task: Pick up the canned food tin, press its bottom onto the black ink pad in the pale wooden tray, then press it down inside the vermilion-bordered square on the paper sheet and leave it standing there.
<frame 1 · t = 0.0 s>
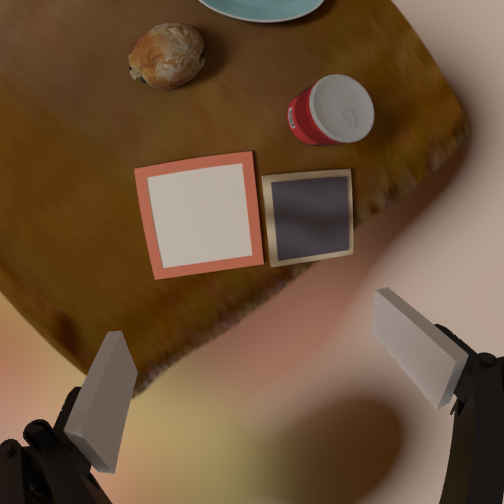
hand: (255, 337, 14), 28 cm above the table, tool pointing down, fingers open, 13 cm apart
canned food: (311, 119, 38), on the table
bread roll: (167, 60, 33), on the table
ink pad: (310, 216, 42), on the table
print sheet: (200, 216, 40), on the table
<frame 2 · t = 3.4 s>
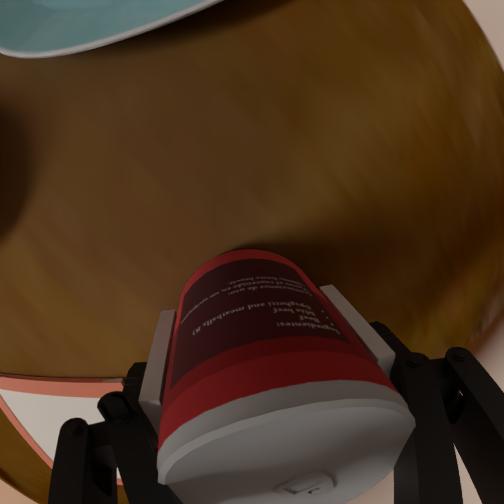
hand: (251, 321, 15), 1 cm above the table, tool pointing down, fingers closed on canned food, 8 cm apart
canned food: (247, 308, 17), on the table, touching gripper
print sheet: (79, 440, 19), on the table
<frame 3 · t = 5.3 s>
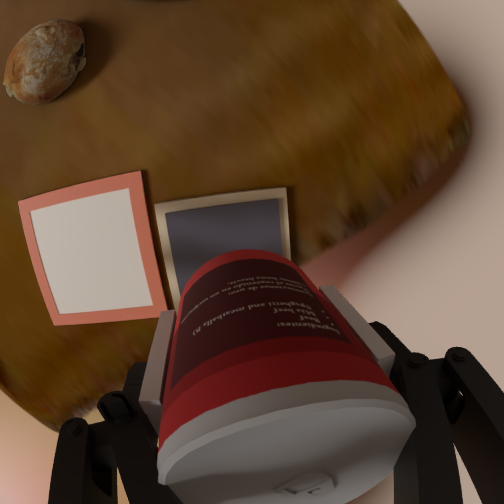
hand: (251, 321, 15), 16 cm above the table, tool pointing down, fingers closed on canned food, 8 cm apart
canned food: (247, 308, 17), point 15 cm above the table, touching gripper
bread roll: (50, 66, 21), on the table
ink pad: (227, 255, 31), on the table
print sheet: (87, 257, 29), on the table
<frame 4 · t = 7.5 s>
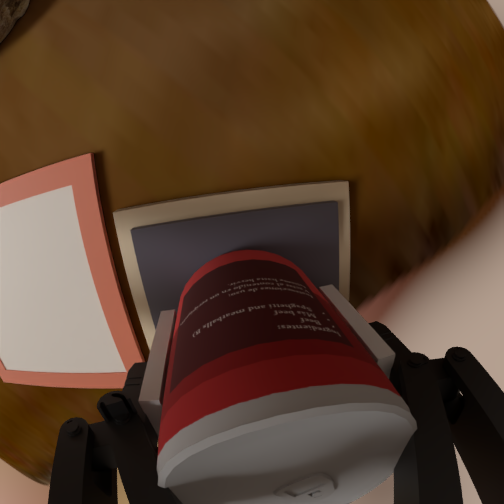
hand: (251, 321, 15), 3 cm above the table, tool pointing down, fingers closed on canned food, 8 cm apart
canned food: (247, 309, 17), point 1 cm above the table, touching gripper, ink pad
ink pad: (244, 297, 18), on the table
print sheet: (26, 296, 16), on the table
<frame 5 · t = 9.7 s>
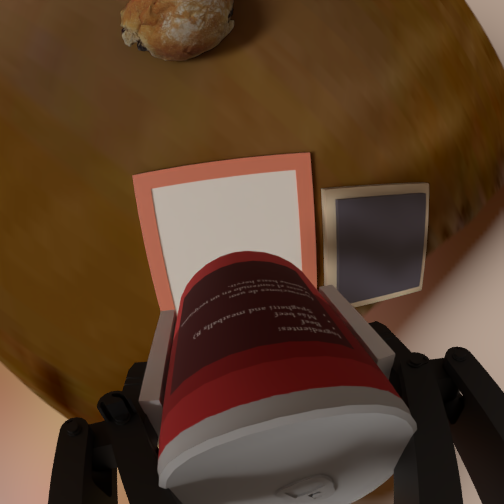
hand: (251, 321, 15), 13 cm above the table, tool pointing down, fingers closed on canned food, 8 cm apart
canned food: (248, 310, 17), point 12 cm above the table, touching gripper
bread roll: (178, 22, 20), on the table
ink pad: (378, 244, 30), on the table
print sheet: (231, 246, 27), on the table
when the fingers open (2 cm above the table, at t = 11.6 s): canned food stays where it is, resting on print sheet.
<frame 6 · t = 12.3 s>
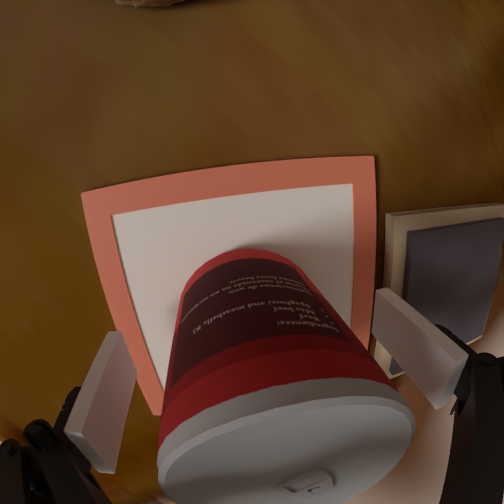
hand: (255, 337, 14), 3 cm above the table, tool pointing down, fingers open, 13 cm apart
canned food: (247, 308, 17), resting on print sheet
ink pad: (445, 288, 19), on the table
print sheet: (247, 306, 17), on the table
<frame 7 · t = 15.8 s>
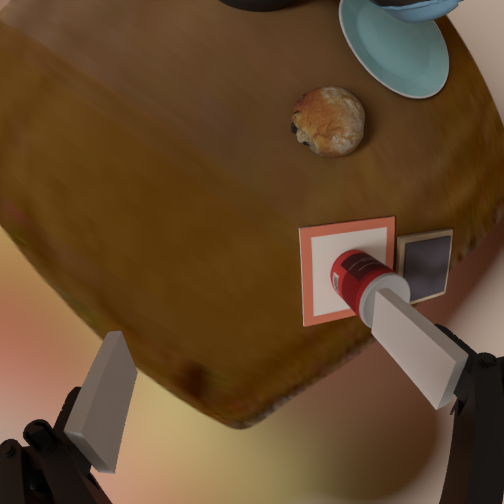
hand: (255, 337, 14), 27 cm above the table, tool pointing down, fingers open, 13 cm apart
canned food: (350, 271, 44), resting on print sheet
bread roll: (323, 123, 37), on the table
plate: (392, 40, 34), on the table
ink pad: (422, 266, 46), on the table
print sheet: (350, 271, 44), on the table
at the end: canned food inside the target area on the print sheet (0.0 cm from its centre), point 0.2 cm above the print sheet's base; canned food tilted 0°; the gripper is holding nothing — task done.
